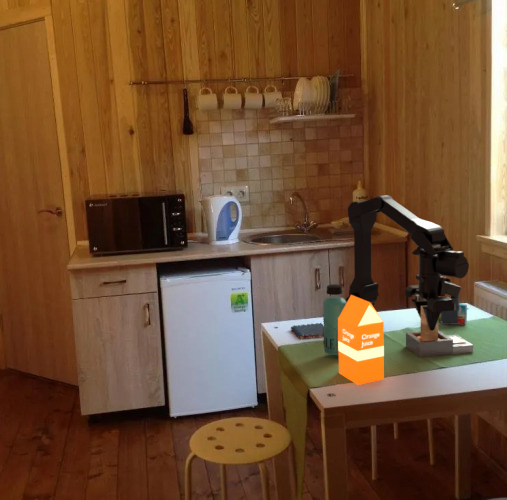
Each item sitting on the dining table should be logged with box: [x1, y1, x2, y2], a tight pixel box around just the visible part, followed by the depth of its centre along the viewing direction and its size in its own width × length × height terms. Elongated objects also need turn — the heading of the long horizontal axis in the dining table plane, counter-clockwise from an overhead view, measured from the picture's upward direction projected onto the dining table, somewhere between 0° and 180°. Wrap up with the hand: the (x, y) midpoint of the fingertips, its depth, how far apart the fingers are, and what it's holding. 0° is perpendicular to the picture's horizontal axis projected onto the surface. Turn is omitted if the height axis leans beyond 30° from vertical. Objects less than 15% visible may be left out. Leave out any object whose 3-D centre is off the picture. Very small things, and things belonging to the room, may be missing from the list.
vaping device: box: [441, 295, 460, 325], centre depth 195 cm, size 3×5×12 cm, turn 80°
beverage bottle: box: [322, 283, 346, 356], centre depth 170 cm, size 6×7×20 cm
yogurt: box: [438, 303, 468, 326], centre depth 198 cm, size 12×2×6 cm, turn 55°
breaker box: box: [405, 329, 474, 358], centre depth 174 cm, size 15×9×4 cm, turn 100°
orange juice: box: [338, 295, 385, 386], centre depth 155 cm, size 8×9×20 cm
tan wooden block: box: [420, 305, 439, 341], centre depth 172 cm, size 4×4×9 cm
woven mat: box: [290, 322, 324, 340], centre depth 193 cm, size 10×11×2 cm
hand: (428, 328), depth 172 cm, fingers closed on tan wooden block, 3 cm apart
